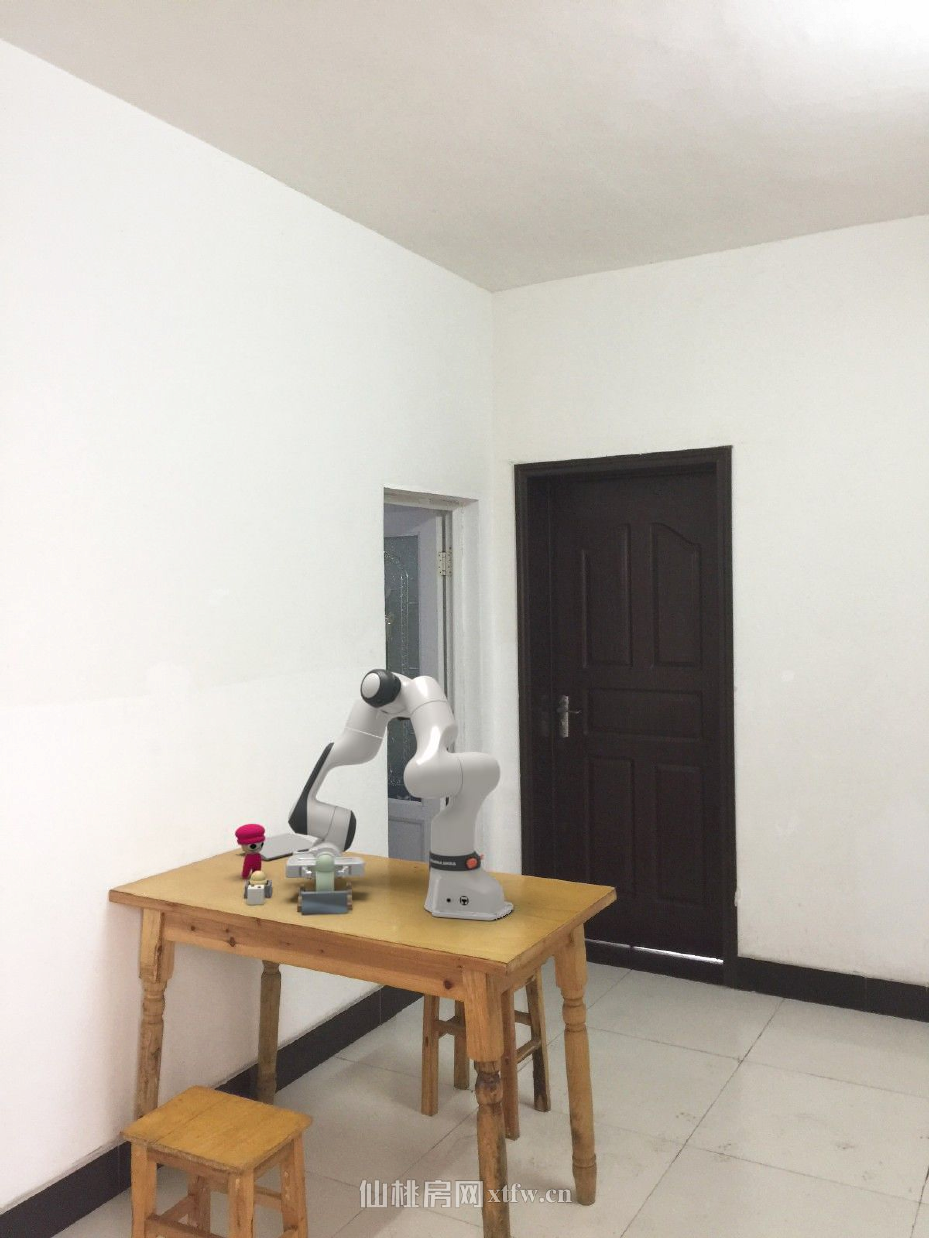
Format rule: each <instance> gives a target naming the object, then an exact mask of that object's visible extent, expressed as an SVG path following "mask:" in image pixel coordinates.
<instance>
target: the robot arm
mask: <svg viewBox="0 0 929 1238" xmlns="http://www.w3.org/2000/svg"><path fill="white" fill-rule="evenodd" d="M359 692H360V695H359V696H358V698H357V699H356V701H355V702H354V704H353V705H352V709H351V711H350V712H349V715H348V718H347V720H346V723H345V727H344V728H343V731H342V733H341V735H340V736H339V737H338V739H337V740H336V741H335V742H329V743H328V744H327V745H326V747H325V748H324V749H323V751H322V753H321V754H320V756H319V758H318V760H317V762H316V763H315V765H314V767H313V768H312V771H311V773H310V775H309V777H308V779H307V780H306V783H305V785H304V787H303V789H302V791H301V793H300V794H299V796H298V798H296V800H295V802H294V803H293V804H292V806H291V808H290V810H289V813H288V819H287V820H288V821H287V823H288V825H289V827H290V829H291V830H292V832H293V833H294V834H295V835H302V836H310V837H314V838H316V840H315V841H314V842H313V843H314V844H313V845H312V848H310V849H304V850H298V851H294V852H293V854H292V855H290V857H289V858H288V859H287V860H286V863H285V877H286V878H287V879H298V878H300V879H302V878H303V879H304V878H305V880H312V879H313V878H314V879H316V870H317V869H316V866H315V863H316V860H317V858H318V857H319V856H321V855H329V856H331V857H332V858H333V860H334V868H333V869H334V878H337V877H338V879H343V878H345V877H362V876H364V875H365V865H366V861H365V860H364V859H363V858H362V857H359V856H343V853H345V852H346V851H347V850H349V849H350V848H351V847H352V845H353V841H354V840H355V835H356V830H357V819H356V818H357V817H356V816H355V812H354V811H353V810H352V809H348V808H345V807H343V806H338V805H335V804H330V803H326V802H323V801H320V800H318V799H317V798H316V796H317V794H318V792H319V790H320V788H321V786H322V785H323V783H324V780H326V776H327V775H328V773H330V771H331V770H333V769H334V768H338V767H344V766H355V765H362V764H366V763H368V762H370V761H372V760H373V759H374V758H375V757H376V756H377V755H378V752H379V751H380V748H381V746H382V743H383V740H384V736H385V734H386V730H387V729H386V728H387V726H388V724H389V723H390V721H391V720H393V719H394V718H396V719H397V720H398V721H399V722H401V721H410V722H411V725H412V728H413V732H414V735H415V739H416V744H417V745H416V752H415V754H414V756H413V757H411V759H409V761H408V762H407V764H406V765H405V768H404V771H403V783H404V786H405V788H406V790H407V792H408V793H409V794H410V795H411V796H412V797H413V798H414V797H415V798H421V799H429V800H433V799H443V798H446V799H447V798H449V801H448V803H447V805H446V806H445V808H444V809H442V810H441V811H440V812H438V813H436V815H434V817H433V818H432V820H431V822H430V823H431V824H430V850H429V851H428V852H429V853H428V871H429V879H428V881H429V882H428V889H427V894H426V898H425V902H424V909H425V910H426V911H428V912H430V913H431V915H432V916H433V917H438V918H440V917H441V918H450V919H451V918H454V919H463V920H465V919H466V920H477V921H478V920H479V921H495V920H494V919H496V920H498V919H497V918H500V917H502V918H504V917H503V916H505V915H506V914H508V915H509V913H510V912H511V910H514V904H513V903H512V902H509V901H505V900H506V899H505V893H504V888H503V886H502V883H501V882H499V880H497V879H496V878H495V877H493V875H492V874H490V873H489V872H488V871H487V870H486V869H485V868H483V867H482V862H481V861H482V860H484V854H481V855H479V854H478V853H477V851H476V850H475V837H476V836H475V835H476V823H477V817H478V814H479V811H480V810H481V807H482V804H483V803H484V801H485V799H486V798H487V796H489V794H491V792H493V791H494V790H495V789H497V786H498V785H499V782H500V778H501V767H500V764H499V762H498V760H497V759H496V757H495V756H494V755H492V754H490V753H487V752H481V751H463V752H449V751H448V750H447V749H448V748H449V747H450V746H452V744H454V742H455V741H456V740H457V738H458V734H459V728H458V727H459V726H458V724H457V721H456V718H455V716H454V713H453V710H452V708H451V705H450V703H449V700H448V699H447V696H446V694H445V692H444V691H443V689H442V687H441V686H440V684H439V683H438V681H437V680H436V679H435V678H434V677H431V676H429V675H420V676H416V677H415V678H413V679H412V678H409V677H408V676H406V675H403V674H400V673H399V672H398V673H397V672H394V671H390V670H388V669H385V668H384V669H383V668H374V669H371V670H370V671H368V672H367V673H366V674H365V675H364V677H363V678H362V679H361V684H360V691H359ZM511 913H512V912H511ZM511 913H510V914H511ZM506 916H507V915H506ZM506 916H505V917H506ZM500 919H501V918H500Z"/></svg>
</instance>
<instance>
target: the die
mask: <svg viewBox="0 0 929 1238" xmlns="http://www.w3.org/2000/svg"><path fill="white" fill-rule="evenodd" d="M247 897H248V898H247V906H257V905H264V903H265V899H266V898H265V885H254V884H252V885H249V886H248V889H247Z"/></svg>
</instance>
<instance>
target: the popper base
mask: <svg viewBox="0 0 929 1238" xmlns="http://www.w3.org/2000/svg"><path fill="white" fill-rule="evenodd" d="M272 884H273V883H272V879H267V885H265V899H271V898H272V894H273V888H274V887H273V886H272ZM249 885H250V879H249V880H246V882H245V885H244V892H243V899H244V900H245V899H248V897H247V889H248V886H249Z"/></svg>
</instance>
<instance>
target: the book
mask: <svg viewBox="0 0 929 1238" xmlns="http://www.w3.org/2000/svg"><path fill="white" fill-rule="evenodd" d="M313 844H314V842H313V841H312V840H310V839H307V838H305V837H302V836H301V835H299V834H296V833H290V832H286V833H282V834H278V835H273V836H269V837H265V841H264V845H263V848H262V850H261V851H260V852H258V853H260V855H261V857H262V860H264V861H270V859H271V860H274V859H275V860H276V859H279V858H283V857H287V856H292V855H293V852H294V851H298V850H304V849H310V848H312V845H313ZM237 846H240V847H241V845H240V844H238V843H237ZM244 853H245V854H244V855H245V856H246V855H247V854H248V853H246V852H244ZM286 855H287V856H286Z"/></svg>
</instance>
